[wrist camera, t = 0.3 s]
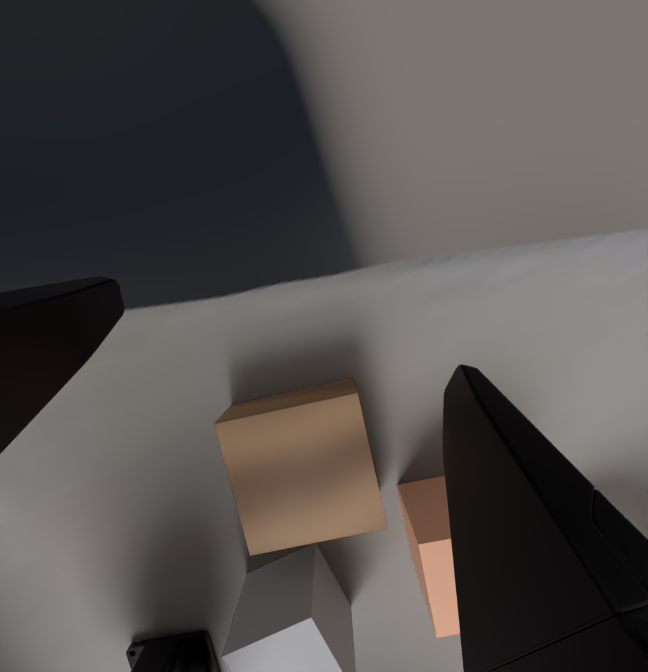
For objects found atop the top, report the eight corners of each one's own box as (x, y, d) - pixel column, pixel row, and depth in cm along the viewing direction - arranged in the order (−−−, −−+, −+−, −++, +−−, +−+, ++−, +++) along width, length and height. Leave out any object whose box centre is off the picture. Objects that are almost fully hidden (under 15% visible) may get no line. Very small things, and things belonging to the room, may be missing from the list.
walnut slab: (378, 491, 25) (387, 528, 21) (262, 514, 25) (250, 555, 21) (352, 377, 24) (357, 393, 20) (232, 403, 24) (213, 424, 20)
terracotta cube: (489, 542, 25) (540, 620, 19) (411, 556, 25) (436, 637, 19) (477, 468, 24) (525, 524, 18) (396, 484, 24) (418, 544, 18)
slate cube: (350, 604, 26) (357, 698, 20) (283, 634, 26) (269, 734, 20) (315, 541, 25) (311, 617, 19) (246, 572, 25) (221, 657, 19)
